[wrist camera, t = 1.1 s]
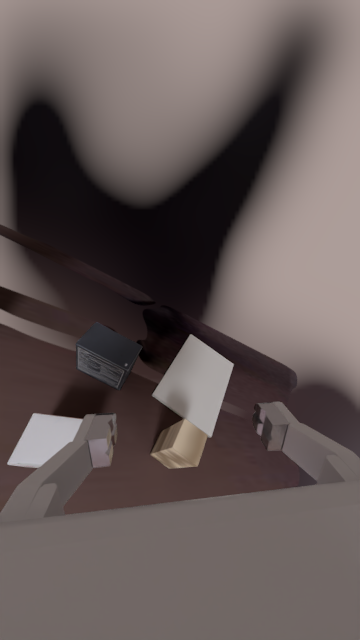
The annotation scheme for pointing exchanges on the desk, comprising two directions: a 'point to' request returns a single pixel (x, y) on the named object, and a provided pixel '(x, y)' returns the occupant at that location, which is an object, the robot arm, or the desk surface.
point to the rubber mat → (195, 384)
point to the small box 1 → (43, 439)
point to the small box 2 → (106, 355)
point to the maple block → (180, 445)
